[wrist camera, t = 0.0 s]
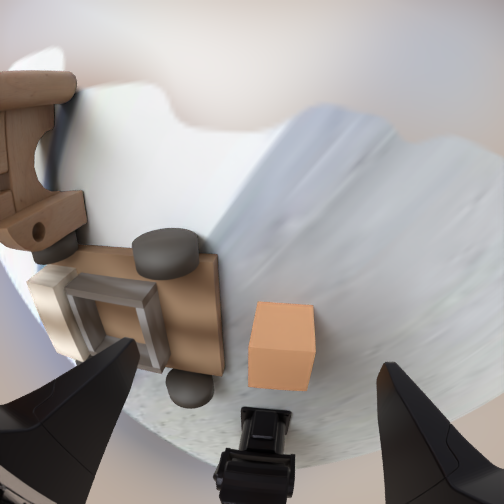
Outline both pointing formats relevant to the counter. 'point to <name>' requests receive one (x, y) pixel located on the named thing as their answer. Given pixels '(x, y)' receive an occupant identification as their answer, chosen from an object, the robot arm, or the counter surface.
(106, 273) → the chassis
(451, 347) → the counter surface
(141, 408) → the counter surface
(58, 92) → the wooden toy
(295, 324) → the orange block
